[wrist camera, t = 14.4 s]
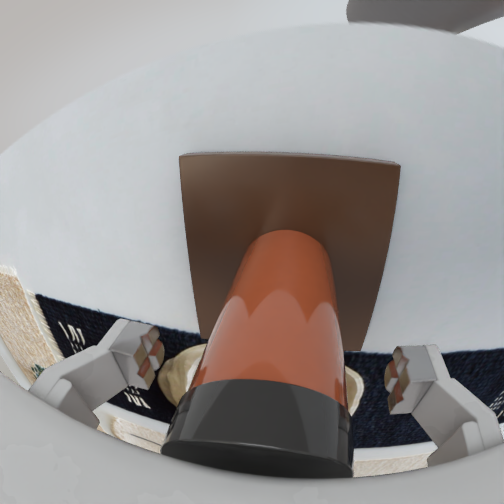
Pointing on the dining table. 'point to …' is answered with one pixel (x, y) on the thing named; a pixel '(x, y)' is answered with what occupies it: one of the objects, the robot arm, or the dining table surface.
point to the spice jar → (271, 371)
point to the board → (289, 222)
